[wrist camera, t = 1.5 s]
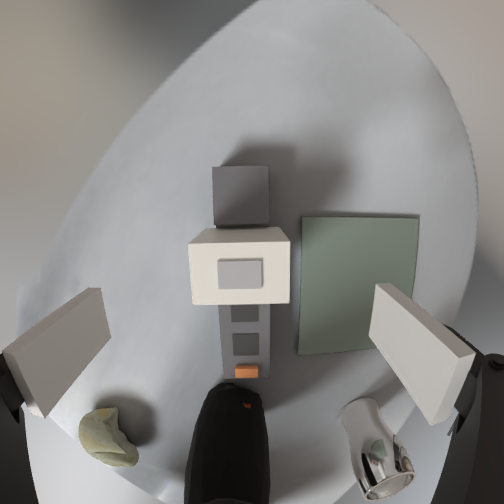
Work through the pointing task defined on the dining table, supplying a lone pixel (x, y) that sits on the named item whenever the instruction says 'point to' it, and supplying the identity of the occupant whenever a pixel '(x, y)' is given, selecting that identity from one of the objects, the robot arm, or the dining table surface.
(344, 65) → the dining table surface
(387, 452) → the beer glass
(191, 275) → the block
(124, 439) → the seashell
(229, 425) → the portable speaker
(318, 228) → the mat
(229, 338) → the power strip
